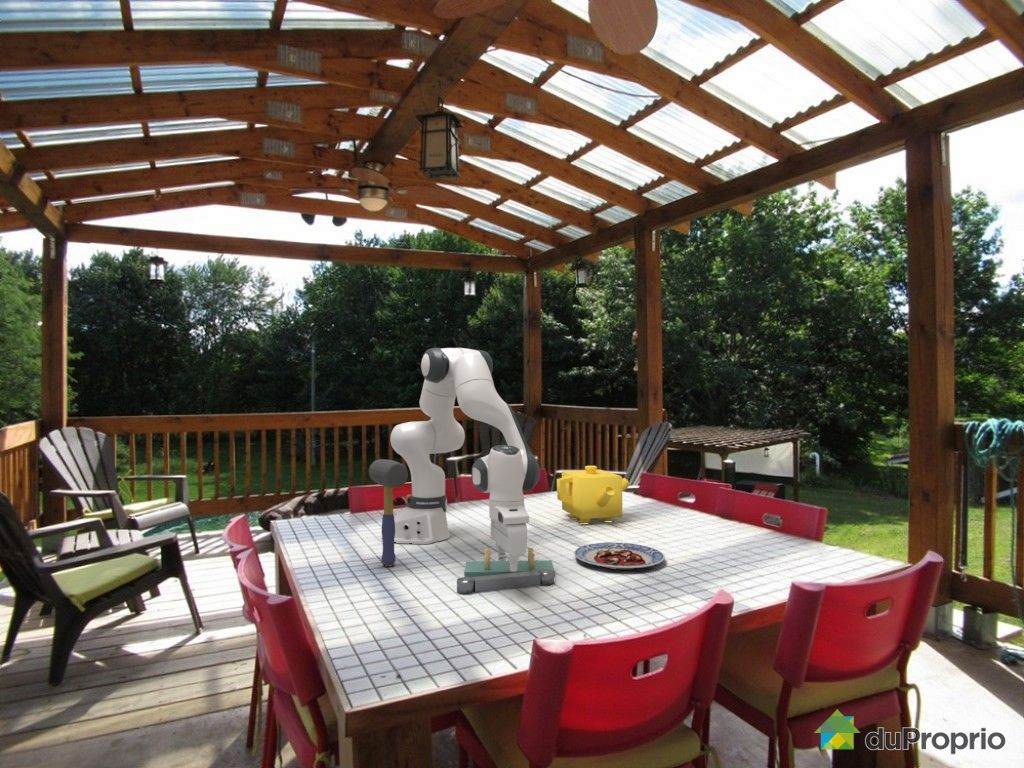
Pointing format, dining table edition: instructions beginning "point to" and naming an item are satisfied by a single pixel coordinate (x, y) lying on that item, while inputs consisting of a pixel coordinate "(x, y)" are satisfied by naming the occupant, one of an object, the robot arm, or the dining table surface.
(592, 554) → the ceramic plate
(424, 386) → the robot arm
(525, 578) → the grey dumbbell
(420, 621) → the dining table surface
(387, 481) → the rubber mallet
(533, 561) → the peg rack
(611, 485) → the yellow teapot
